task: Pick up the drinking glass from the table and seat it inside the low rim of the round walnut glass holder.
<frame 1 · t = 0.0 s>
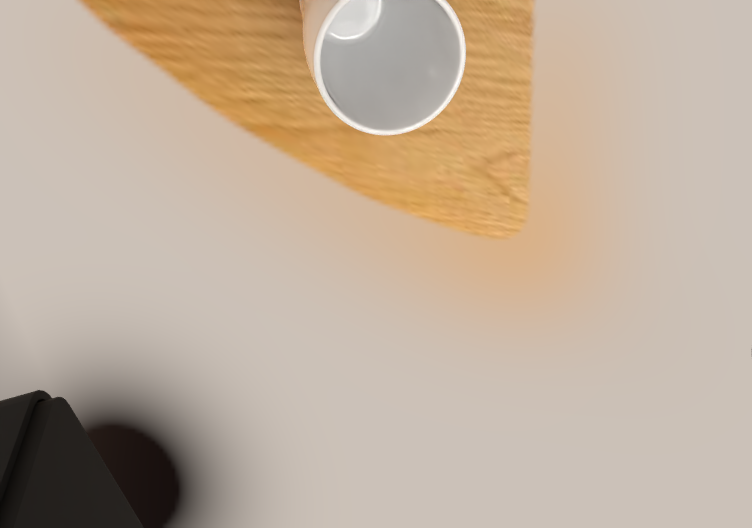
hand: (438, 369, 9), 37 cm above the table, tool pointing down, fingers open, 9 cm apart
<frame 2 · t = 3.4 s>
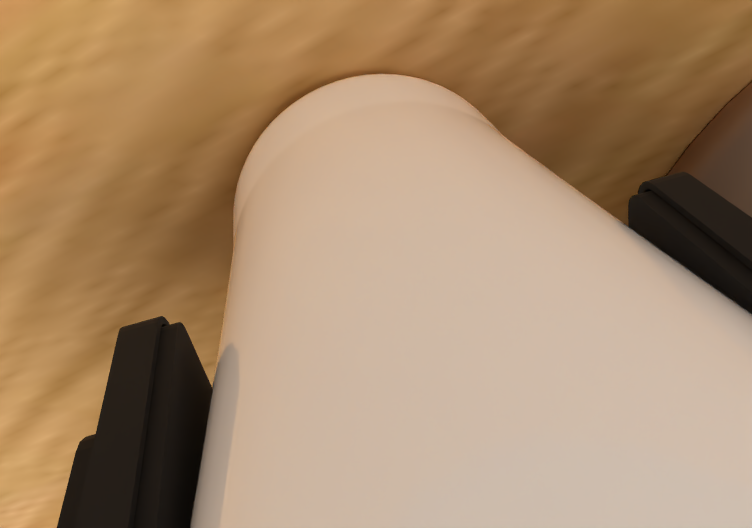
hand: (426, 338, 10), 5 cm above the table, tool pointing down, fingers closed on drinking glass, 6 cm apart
drinking glass: (369, 195, 14), on the table, touching gripper
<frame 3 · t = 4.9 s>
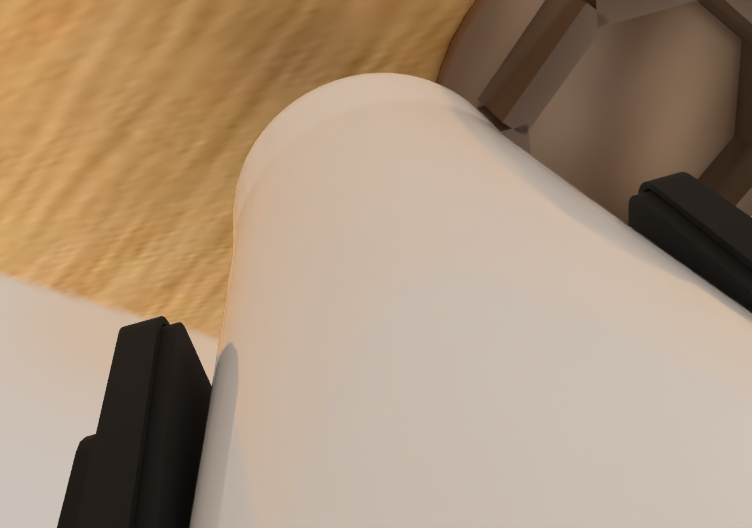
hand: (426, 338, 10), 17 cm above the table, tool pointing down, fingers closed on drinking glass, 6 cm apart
glass holder: (611, 113, 28), on the table
drinking glass: (368, 194, 14), point 12 cm above the table, touching gripper
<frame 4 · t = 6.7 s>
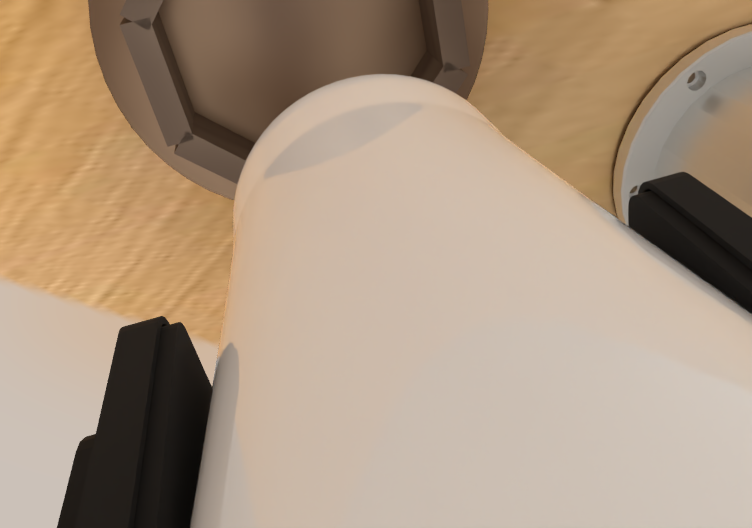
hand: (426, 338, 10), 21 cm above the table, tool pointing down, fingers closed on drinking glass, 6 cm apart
glass holder: (296, 25, 28), on the table
drinking glass: (369, 196, 14), point 16 cm above the table, touching gripper
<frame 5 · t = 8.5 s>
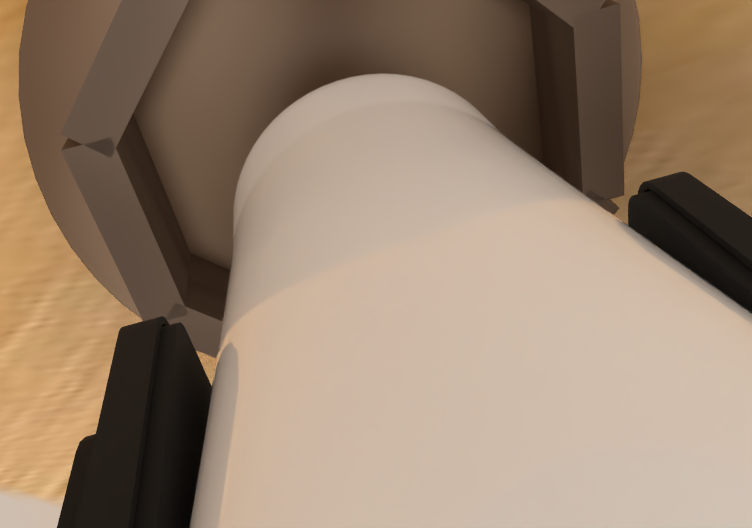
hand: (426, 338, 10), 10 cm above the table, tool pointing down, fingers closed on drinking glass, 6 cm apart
glass holder: (346, 121, 18), on the table
drinking glass: (369, 195, 14), point 5 cm above the table, touching gripper
when the fingers open (7 cm above the table, at t = 10.0 s): drinking glass drops 1 cm, resting on glass holder.
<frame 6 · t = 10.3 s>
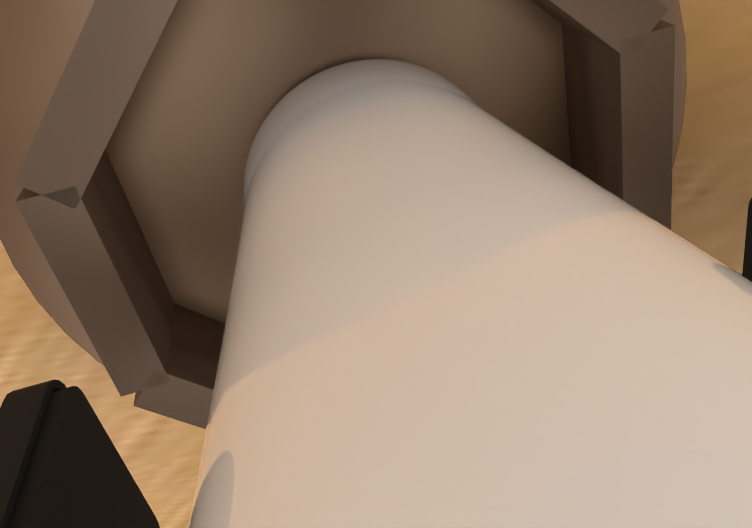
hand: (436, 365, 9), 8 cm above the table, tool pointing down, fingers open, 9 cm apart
glass holder: (350, 154, 16), on the table
drinking glass: (367, 173, 15), point 1 cm above the table, touching glass holder
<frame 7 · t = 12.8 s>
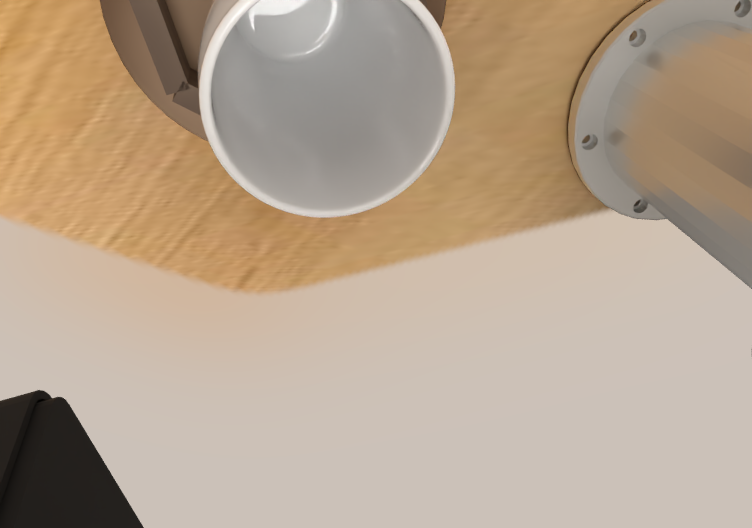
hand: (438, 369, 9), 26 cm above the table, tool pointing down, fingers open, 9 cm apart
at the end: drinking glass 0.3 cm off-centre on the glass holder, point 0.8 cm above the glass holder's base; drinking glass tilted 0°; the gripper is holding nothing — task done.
